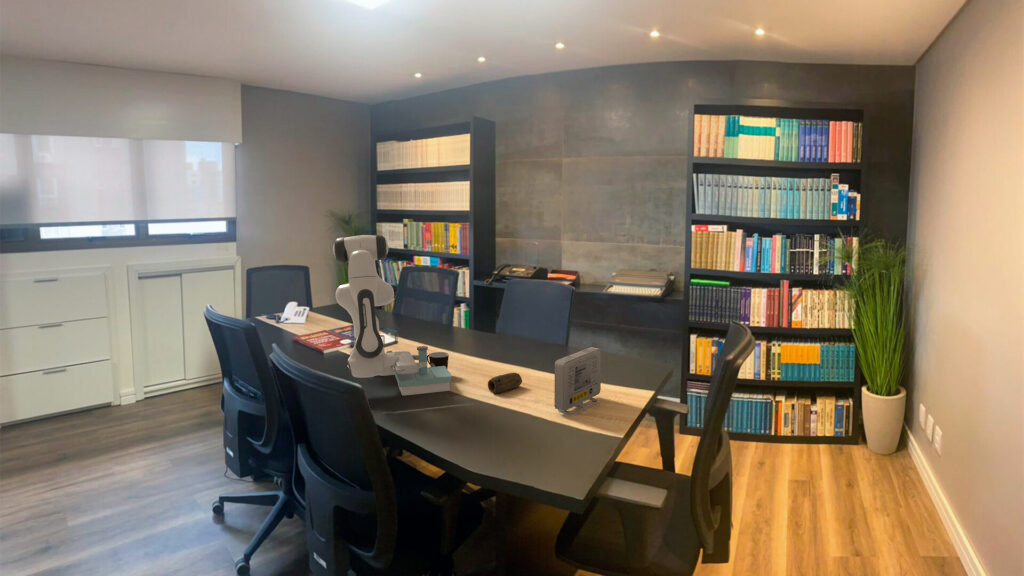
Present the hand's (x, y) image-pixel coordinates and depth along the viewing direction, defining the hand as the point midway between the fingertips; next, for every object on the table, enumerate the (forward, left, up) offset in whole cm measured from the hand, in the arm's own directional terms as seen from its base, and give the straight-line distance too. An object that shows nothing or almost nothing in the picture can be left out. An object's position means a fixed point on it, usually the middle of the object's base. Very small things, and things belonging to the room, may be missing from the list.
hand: (424, 360), depth 247 cm
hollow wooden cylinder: (+11, +30, -12) cm, 35 cm away
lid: (0, -1, -8) cm, 8 cm away
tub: (0, -1, -12) cm, 12 cm away
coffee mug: (-16, +8, -12) cm, 22 cm away
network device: (+38, +51, -12) cm, 65 cm away
